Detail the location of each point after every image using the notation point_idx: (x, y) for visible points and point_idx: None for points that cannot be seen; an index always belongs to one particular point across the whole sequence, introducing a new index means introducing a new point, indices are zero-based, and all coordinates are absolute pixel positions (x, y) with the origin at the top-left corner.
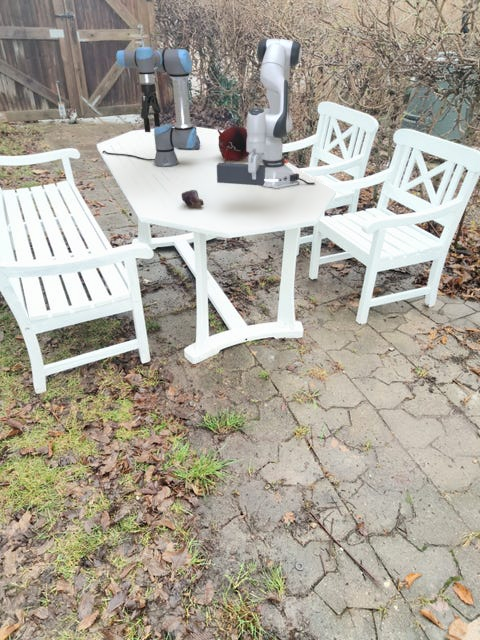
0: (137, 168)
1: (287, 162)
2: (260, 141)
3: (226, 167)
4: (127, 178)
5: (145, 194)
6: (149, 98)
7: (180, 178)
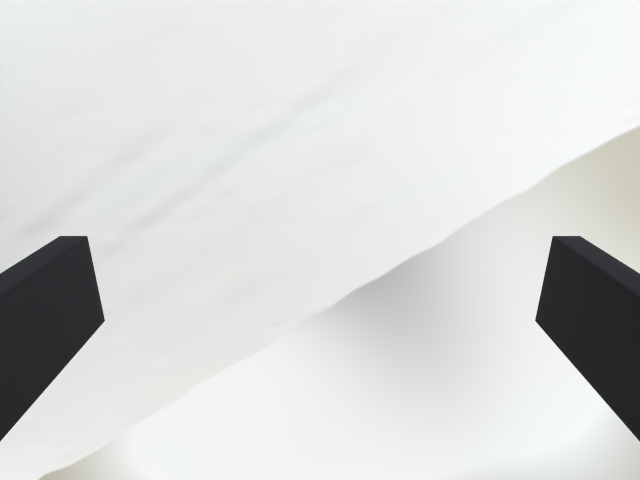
0: None
1: None
2: None
3: None
4: (189, 359)
5: (410, 180)
6: None
7: (86, 79)
